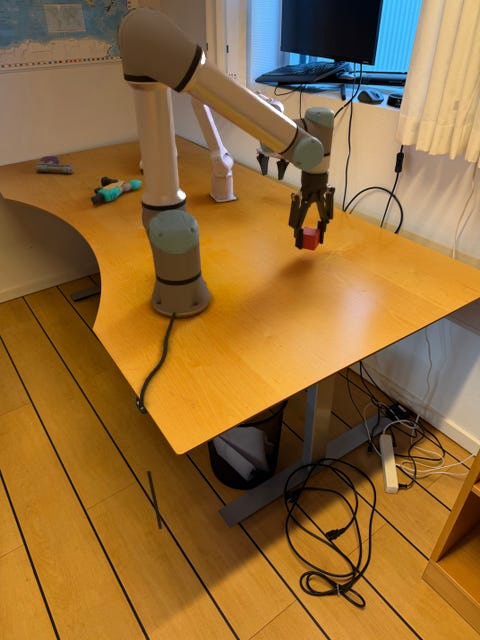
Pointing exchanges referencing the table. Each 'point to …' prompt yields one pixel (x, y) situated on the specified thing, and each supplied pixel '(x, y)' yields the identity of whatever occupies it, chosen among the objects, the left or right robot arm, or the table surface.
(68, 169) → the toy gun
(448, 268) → the table surface
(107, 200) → the toy gun
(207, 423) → the table surface
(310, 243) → the block
